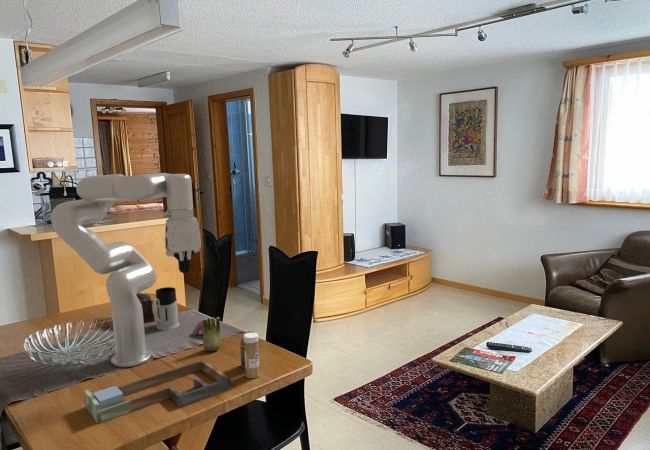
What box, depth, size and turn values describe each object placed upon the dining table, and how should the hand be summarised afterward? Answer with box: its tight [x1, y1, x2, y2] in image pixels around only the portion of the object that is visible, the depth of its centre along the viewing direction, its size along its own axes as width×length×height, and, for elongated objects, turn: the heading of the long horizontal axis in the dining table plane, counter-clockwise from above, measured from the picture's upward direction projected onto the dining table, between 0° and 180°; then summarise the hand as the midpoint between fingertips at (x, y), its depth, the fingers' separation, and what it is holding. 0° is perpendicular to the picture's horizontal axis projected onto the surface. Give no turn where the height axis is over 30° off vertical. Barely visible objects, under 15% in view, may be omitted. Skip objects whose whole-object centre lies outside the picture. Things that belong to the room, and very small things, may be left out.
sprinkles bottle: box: [242, 332, 261, 379], centre depth 151 cm, size 5×5×14 cm
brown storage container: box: [136, 292, 156, 324], centre depth 204 cm, size 16×11×18 cm
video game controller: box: [192, 319, 216, 336], centre depth 185 cm, size 10×5×7 cm, turn 59°
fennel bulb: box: [202, 316, 222, 352], centre depth 171 cm, size 6×5×12 cm
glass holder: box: [152, 286, 180, 331], centre depth 192 cm, size 9×14×15 cm, turn 168°
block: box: [92, 385, 125, 409], centre depth 133 cm, size 6×6×5 cm
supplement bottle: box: [239, 330, 260, 370], centre depth 158 cm, size 6×6×11 cm
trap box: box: [83, 359, 232, 424], centre depth 140 cm, size 18×36×5 cm, turn 131°
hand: (184, 272), depth 153 cm, fingers closed
